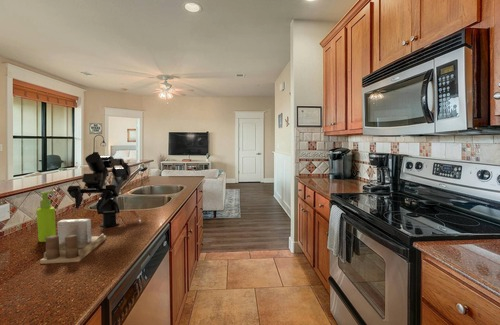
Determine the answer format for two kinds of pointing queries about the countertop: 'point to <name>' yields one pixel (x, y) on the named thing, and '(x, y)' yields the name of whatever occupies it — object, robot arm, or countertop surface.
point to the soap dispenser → (46, 218)
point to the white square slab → (75, 231)
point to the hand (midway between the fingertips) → (87, 208)
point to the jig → (68, 249)
